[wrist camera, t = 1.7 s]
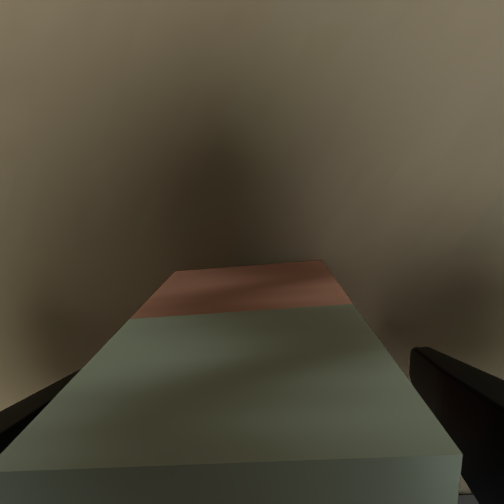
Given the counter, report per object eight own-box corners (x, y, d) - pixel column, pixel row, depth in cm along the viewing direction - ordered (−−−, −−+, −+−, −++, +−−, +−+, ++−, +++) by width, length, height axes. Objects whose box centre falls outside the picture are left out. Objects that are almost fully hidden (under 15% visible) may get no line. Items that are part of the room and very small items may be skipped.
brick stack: (321, 259, 10) (462, 454, 3) (325, 386, 11) (431, 736, 4) (174, 270, 10) (-18, 473, 3) (195, 393, 11) (89, 731, 4)
